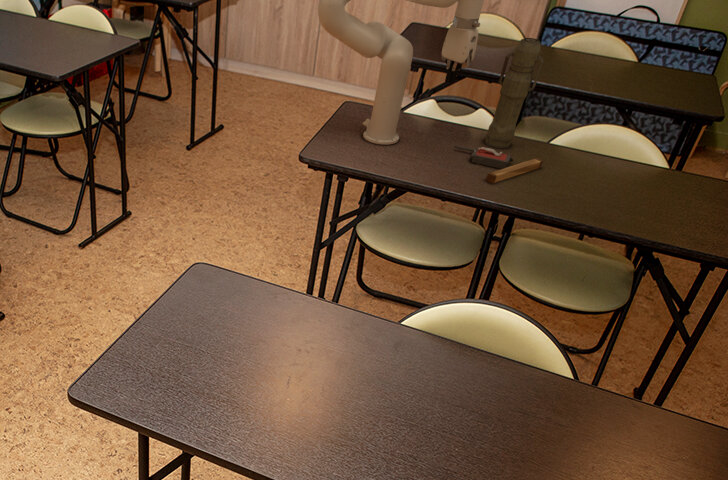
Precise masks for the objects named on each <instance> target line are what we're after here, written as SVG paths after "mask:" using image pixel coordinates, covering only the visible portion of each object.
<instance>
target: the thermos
mask: <svg viewBox="0 0 728 480" xmlns="http://www.w3.org/2000/svg"><path fill="white" fill-rule="evenodd" d="M540 52H541V40H539V39H537V38H534V37H524V38H521V39H520V40H519V42H518V44H516V47H515V49H514V51H512V52H509V53H508V54H507V55H505V58H504V60H503V61H504V62H503V65H502V68H501V72H500V76H499V79H498V83H499V85H500V90H499V93H500V95H499V98H498V102H497V105H496V109H495V110H494V111H495V112H494V115H493V118H492V121H491V123H490V124H489V125H488V128H487V132H486V137H485V139H484V143H485V144H486V145H487V146H488V147H490V148H495V149H508V148H510V147H511V143H512V140H513V139H514V136H515V133H516V131H517V130H516V129H517V128H516V126H517V122H518V119H519V117H520V113H521V111H522V108H523V105H524V101H525V99H526V98H527V97H528V95H529V92H530V91H534V89H535V87H536V85H537V81H538V79H539V76H540V73H541V70H542V67H543V64H544V58H543V56H541V55H540ZM511 56H512V59H511V62H510V67H509V68H508V71H507V72H506V70H507V67H508V63H509V60H510V57H511ZM538 61H539V63H540V64H539V66H538V70H537V72H536V75H535V77H534V81H533V73H534V68H535V67H536V64H537V62H538ZM505 73H506V74H505ZM532 83H533V84H532Z"/></svg>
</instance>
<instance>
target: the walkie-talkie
mask: <svg viewBox="0 0 728 480" xmlns="http://www.w3.org/2000/svg"><path fill="white" fill-rule="evenodd" d="M453 148H454V149H457V150H462V151H467V152H472V153H470V154H471V155H470V157H469V159H470V160H471V163H473V164H478V165H482V166H487V167H491V168H496V169H499V170H501V169H504V168H507V167H508V165H509V163H510V162H511V163H513V162H514V158H512V155H509V154H505V153H503V151H500V152H497V151H496V150H495V149H494V148H491V147H490V148H489V147H486V146H481V147H478V148H471V147H467V146H463V145H458V144H454V146H453Z"/></svg>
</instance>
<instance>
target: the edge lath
mask: <svg viewBox="0 0 728 480" xmlns="http://www.w3.org/2000/svg"><path fill="white" fill-rule="evenodd" d="M543 162H544V160H542V159H541V158H538V157H535V158H533V159H530V160H525V161H522V162H520V163H517V164H514V165H510V166H507V168H504V169H498V170H494V171H492V172H488V173H487V175H486V178H485V182H488V183H490V184H495V183H498V182H501V181H504V180H508V179H511V178H514V177H516V176H520V175H522V174H526V173H529V172H531V171H535V170H538V169H540V168H541V167H542V165H543Z"/></svg>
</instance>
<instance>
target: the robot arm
mask: <svg viewBox="0 0 728 480" xmlns="http://www.w3.org/2000/svg"><path fill="white" fill-rule="evenodd" d="M406 1H407V2H411V3H414V4H419V5H421V6H428V7H434V8H442V9H445V8H446V9H447V8H450V7H452V6H454V5H455V4H456V3H457V4H456V9H455V12H454V15H453V21H452V24H450V25H449V28H448V30H447V33H446V35H445V38H444V41H443V45H442V50H441V58H440V59H441V61H443V62H445V65H446V67H445V69H446V70H447V71H446V74H445V79H444V83H447V84H453V83H455V82H456V81H457V76H458V73H459V71H460V70H461V69H466V68H469V67H470V62H473V61H474V59H475V56H476V50H477V45H478V40H479V29H478V28H480V26H481V23H480V22H479V21H480V18H481V14H482V9H483V6H484V2H485V0H406ZM349 2H351V0H318V4H317V16H318V20H319V23H320V25H321V27H322V28H323V30H324V31H325V32H326V33H328V34H329V35H330V36H332V38H335V39H336V40H338V41H339V42H341V43H342V44H344V45H345V46H346V47H348V48H349V49H351V50H353V51H354V52H356V53H358V54H359V55H360V56H362V57H364V58H366V59H373V58H375V57H377V58H379V59H381V61H380V67H379V71H378V72H379V74H378V79H377V85H376V88H375V89H376V90H375V95H374V99H373V106H372V110H371V115H370V118H366V119H365V121H363V122H362V126H364V127H366V130H364V131H363V134H362V137H363V139H364V140H365V141H367V142H369V143H372V144H374V145H375V144H376V145H381V146H384V145H385V146H387V145H394V144H396V143H398V141H399V139H400V136H399V134H398V133H397V129H398V123H399V118H400V114H401V111H402V106H403V101H404V97H405V93H406V87H407V82H408V78H409V74H410V70H411V66H412V61H413V56H414V48H413V45H412V43H411V42H410V41H409V40H408V39H407V38H406V37H404V36H403V35H401V34H400V33H398V32H396V31H395V30H393V29H392V28H390V27H389V26H387V25H385V24H384V23H382V22H380V21H369V22H367V23H365V22H364V21H362V20H361V19H360V18H358V17H356V16H355V15H353V14H351V13H349V12H348V11H346V9H345V7H346V5H348V3H349Z"/></svg>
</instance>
